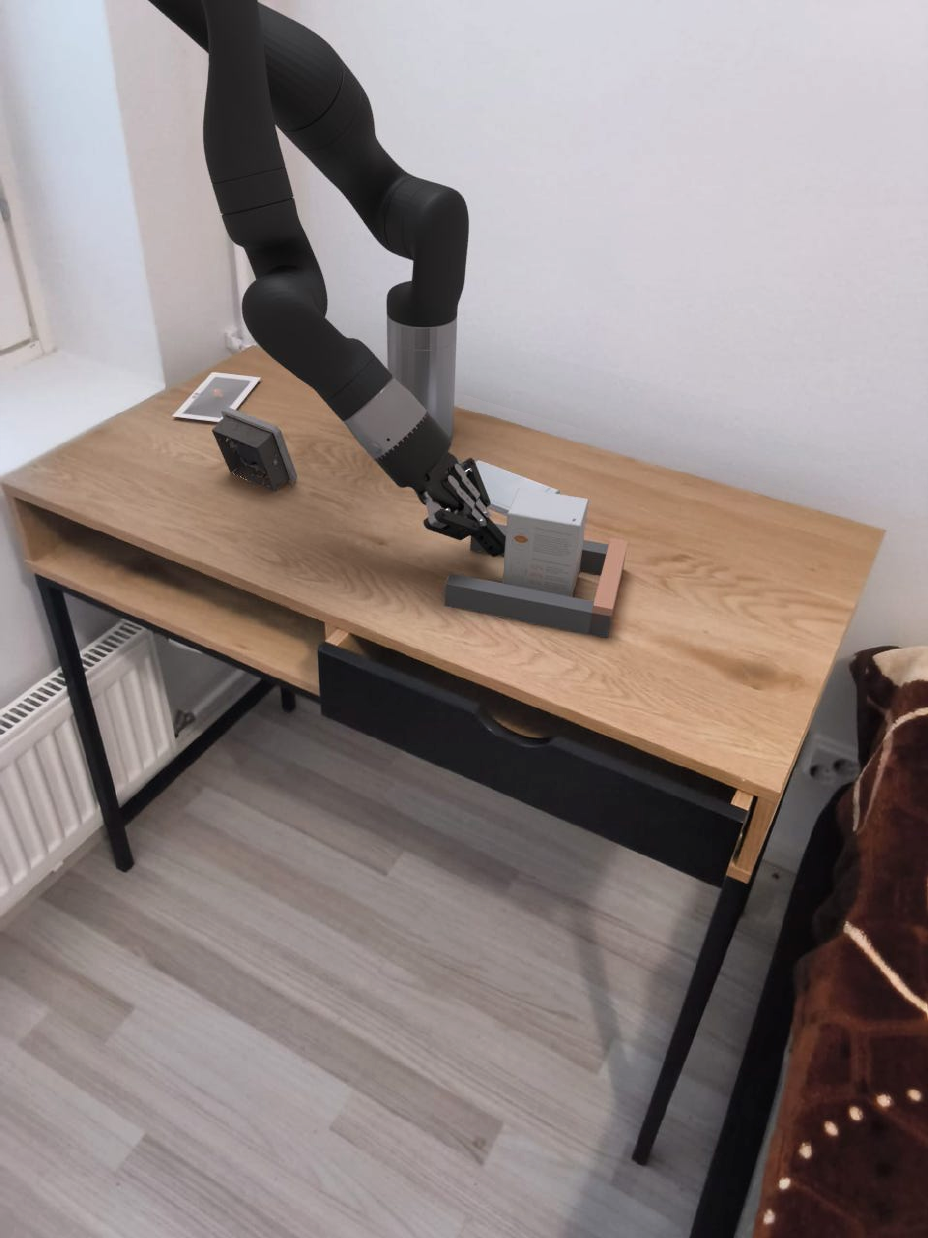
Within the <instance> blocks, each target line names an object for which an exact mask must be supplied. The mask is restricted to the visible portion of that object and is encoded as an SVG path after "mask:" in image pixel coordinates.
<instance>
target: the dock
mask: <svg viewBox="0 0 928 1238" xmlns="http://www.w3.org/2000/svg"><path fill="white" fill-rule="evenodd" d="M494 524H495V525H496V526H497V528H499V529H500V531H501V532H502V533H503V534H504V535H505V537H506V528H507V525H505V524H498V523H494ZM628 544H629V540H626V539H620V538H616V537H615V538H614V537H610V539H609V543H608V544H607V543H603V542H597V541H591V540H588V539H587V540H586V539H583V547H582V554H581V562H580V570H579V572H584V573H590V574H595V575H599V576H600V578H599V583H598V586H597V590H596V594H595V598H594V600H588V599H584V598H579V597H573V596H572V597H569V596H564V595H559V594H554V593H549V592H544V591H539V590H534V589H528V588H523V587H518V586H513V585H508V584H503V582H497V581H491V580H486V579H482V578H477V577H473V576H466V575H463V574H461V575H460V574H456V573H452V572H449V574H448V577H447V579H446V581H445V583H444V600H443V601H444V602H443V603H444V606H445V607H450V608H456V609H460V610H466V611H469V612H475V613H479V614H483V615H484V614H485V615H489V616H495V617H498V618H503V619H504V618H505V619H509V620H514V621H520V622H525V623H530V624H534V625H539V626H545V627H550V628H554V629H558V630H564V631H568V632H574V633H579V634H584V635H588V636H592V637H593V636H594V637H598V638H603V639H608V636H609V632H610V627H611V624H612V618H613V615H614V614H613V613H614V610H615V606H616V600H617V597H618V592H619V588H620V585H621V584H620V583H621V579H622V576H623V570H624V566H625V561H626V555H627V548H628ZM469 551H473V552H479V553H484V554H488V553H487V552H486V551H485V549H484V548H483V547H482V546H481V545H480V544H479V543H478V542H477V541H476V539H475V538H474V537H472V536H470V544H469ZM504 555H505V552H504V553H502V554H500V555H499V556H500V557H504ZM499 556H498V557H499Z"/></svg>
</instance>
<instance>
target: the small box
mask: <svg viewBox="0 0 928 1238" xmlns="http://www.w3.org/2000/svg"><path fill="white" fill-rule="evenodd" d="M588 509H589V499H588V498H583V497H577V496H572V495H567V494H560V493H559V494H555V493H549V492H543V491H537V490H531V489H525V488H519V489H518V491H517V494H516V496H515V498H514V500H513V502H512V505H511V507H510V509H509V511H508V514H507V515H506V526H507V528H506V542H505V555H504V556H503V558H504V559H503V572H502V574H503V575H502V583H503V584H508V585H513V586H518V587H523V588H528V589H534V590H539V591H544V592H549V593H554V594H559V595H564V596H569V597H573V596H574V591H575V589H576V585H577V582H578V579H579V576H580V571H579V570H580V562H581V554H582V547H583V540H585V530H586V523H587V522H586V521H587V516H588V515H587V514H588Z"/></svg>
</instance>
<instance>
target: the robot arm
mask: <svg viewBox="0 0 928 1238" xmlns="http://www.w3.org/2000/svg"><path fill="white" fill-rule="evenodd" d="M147 1H148V2H149V3H150V4H152V5H153V6H154V7H155V8H156V9H157V10H158V11H159V12H160V13H161V14H163V15H164V16H165V17H166V18H168V19H169V20H170V21H171V22H172V24H173V23H174V24H175V26H176V27H178V29H180V30H181V31H183V33H185V34H186V35H187V36H188V37H189V38H190V39H191V40H193V42H195V43H196V44H197V45H198V46H199V47H201V49H202V50H203V51H205V52H206V53H207V54H208V69H207V82H206V89H205V90H206V92H205V98H204V99H205V101H204V109H203V110H204V111H203V121H202V144H203V145H202V146H203V152H204V153H203V154H204V160H205V164H206V168H207V173H208V176H209V179H210V183H211V185H212V190H213V193H214V196H215V200H216V203H217V206H218V208H219V213H220V214H221V218H222V221H223V224H224V228H225V230H226V232H227V235H228V237H229V238H230V240H231V241H232V242H233V244H235V245H237V246H239V247H241V248H243V249H244V251H245V254H246V257H247V259H248V262H249V264H250V267H251V269H252V272H253V274H254V277H255V280H254V281H252V283H250V284H249V285H248V287H247V288H246V290H245V292H244V294H243V296H242V300H241V314H242V319H243V322H244V324H245V327H246V328H247V330H248V333H249V335H251V337H252V338H253V340H254V341H255V343H257V344H258V346H259V347H260V348H261V349H262V350H263V351H264V352H265V353H266V354H267V355H268V356H269V357H270V358H272V359H273V360H274V361H275V362H277V363H278V364H279V365H280V366H282V368H284V369H285V370H287V371H288V372H289V373H291V374H292V375H293V376H295V377H296V378H297V379H299V380H300V381H302V382H303V383H305V384H306V385H308V387H310V388H312V389H313V390H314V391H315V392H316V393H317V395H319V398H321V400H322V401H323V402H325V404H326V405H327V406H328V407H329V408H330V409H331V410H332V412H333V413H334V414H335V415H336V416H337V417H338V418H339V419H340V420H341V422H343V424H344V425H345V426H346V427H347V429H348V430H349V432H350V433H351V435H352V436H353V438H354V439H355V440H356V442H357V443H358V444H359V445H360V446H361V447H362V448H363V449H364V451H366V453H367V454H368V455H369V456H370V457H371V458H372V459H373V460H374V462H376V464H377V465H378V466H379V467H380V468H381V469H382V470H383V471H384V472H385V474H386V475H387V476H388V477H389V478H390V480H392V481H393V483H395V485H396V486H397V487H399V488H400V489H404V488H410V489H412V490H413V491H414V493H415V494H416V496H417V498H418V500H419V502H420V503H421V504H423V505H424V506H426V509H427V514H428V516H427V517H426V518H424V519H423V526H424V527H425V528H426V530H429V531H431V532H435V533H438V534H441V535H443V536H446V537H449V538H451V539H454V540H457V541H462V540H464V539H466V538H468V537H471V536H472V537H474V538H475V539H476V541H477V542H478V543H479V544H480V545H481V546H482V547H483V548H484V549H485V551H486V552H487V553H486V554H488V555H489V556H490V557H492V558H496V557H499V555H500V554H502V553H504V552H505V542H506V537H505V535H504V534H503V533H502V532H501V531H500V529H499V528H497V526H496V525H495V524H496V523H494V520H492V519H491V512H490V511H489V508H487V507H488V506H489V505H490V504H491V501H490V499H489V496H488V494H487V491H486V489H485V486H484V483H483V481H482V478H481V476H480V473H479V471H478V468H477V466H476V463H475V462H476V461H475V459H474V458H472V457H468V458H467V459H466V460H464V461H463V460H462V461H461V460H458V458H457V457H456V456H455V455H454V454H452V453H451V452H450V449H451V447H452V437H453V434H454V420H455V419H454V414H455V393H456V392H455V391H456V390H455V389H456V369H457V367H456V364H457V337H458V336H457V335H458V334H457V332H458V330H457V329H458V307H459V302H460V299H462V298H461V297H462V294H463V290H464V286H465V278H466V268H467V267H466V265H467V256H468V246H469V236H470V235H469V233H470V218H469V217H470V216H469V210H468V205H467V203H466V200H465V198H464V197H463V195H462V193H461V192H459V191H458V190H456V189H455V188H452V187H450V186H447V185H443V184H441V183H437V182H434V181H430V180H427V179H424V178H420V177H417V176H415V175H413V174H410V173H409V172H407V171H406V170H405V169H403V168H402V167H401V165H400V164H398V163H397V162H396V161H395V160H394V159H393V158H392V157H391V155H390V154H389V153H388V152H387V151H386V150H385V149H384V148H383V146H382V144H381V143H380V141H379V140H378V138H377V133H376V125H375V118H374V112H373V107H372V104H371V101H370V99H369V96H368V94H367V92H366V91H365V89H364V88H363V86H362V85H361V82H360V81H359V80H358V78H357V77H356V76H355V75H354V73H353V72H352V70H351V69H350V67H348V66H347V64H346V63H345V61H344V60H343V59H342V58H341V56H340V55H339V54H338V52H337V51H336V50H335V49H334V48H333V46H331V44H329V42H328V41H326V40H325V39H324V38H323V37H322V36H320V35H319V34H318V33H316V32H315V31H313V30H311V29H310V28H308V27H307V26H305V25H303V24H301V23H300V22H298V21H296V20H294V19H293V18H290V17H289V16H287V15H285V14H283V13H281V12H279V11H277V10H276V9H275V10H274V9H273V8H271V7H268V6H267V5H264V4H263V3H261V2H260V1H258V0H147ZM277 128H278V129H279V130H280V131H281V133H282V134H283V135H284V136H285V137H286V138H287V139H288V140H289V141H290V142H291V143H292V144H293V145H294V146H295V147H296V149H298V150H299V151H300V152H301V153H302V154H303V155H304V156H305V157H306V158H307V159H308V160H309V161H310V162H311V163H312V164H313V165H314V167H315V168H316V169H318V171H319V172H320V173H321V174H323V176H324V177H325V178H326V179H327V180H328V181H329V182H330V183H331V184H332V185H334V186H335V187H336V188H337V190H339V191H340V193H341V194H342V195H343V196H344V197H345V199H346V200H347V201H348V203H349V205H351V207H352V208H353V210H354V211H355V212H356V214H357V215H358V217H359V218H360V219H361V221H362V222H363V223H364V225H365V226H366V227H367V229H368V231H369V232H370V233H371V235H372V236H373V237H374V238H375V240H376V241H377V242H378V243H379V245H381V246H382V247H383V248H384V249H385V250H387V251H388V252H390V253H392V254H394V255H397V256H399V257H402V258H404V259H406V260H407V259H408V260H410V261H412V273H411V280H408V281H404V282H400V283H398V284H395V285H394V286H392V287H391V288H390V289H389V290H388V291H387V295H386V304H385V305H386V306H385V307H386V348H387V349H386V351H387V355H386V356H387V361H386V362H387V365H386V366H387V367H386V366H385V365H384V364H383V362H382V361H381V360H380V358H378V357H377V356H376V355H375V353H374V352H373V351H372V350H371V349H370V348H369V347H368V346H367V345H366V344H365V343H364V342H363V341H361V340H359V338H355V337H347V336H345V335H343V334H342V332H340V330H339V329H338V328H337V327H335V326H334V325H333V324H332V322H330V321H329V320H328V319H327V318H326V317H327V316H326V315H327V312H328V303H329V301H328V292H327V287H326V282H325V278H324V275H323V272H322V269H321V266H320V264H319V261H318V259H317V257H316V255H315V252H314V250H313V249H314V248H313V247H312V245H311V242H310V239H309V238H308V235H307V234H306V231H305V230H304V228H303V226H302V223H301V221H300V217H299V214H298V211H297V210H298V209H297V204H296V200H295V198H294V193H293V189H292V185H291V182H290V177H289V175H288V170H287V169H288V168H287V167H286V163H285V158H284V155H283V150H282V147H281V144H280V140H279V136H278V132H277Z"/></svg>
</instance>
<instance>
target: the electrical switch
mask: <svg viewBox="0 0 928 1238" xmlns="http://www.w3.org/2000/svg"><path fill="white" fill-rule="evenodd" d="M221 412H222V417H223V419H222V420H220V422H217V425H215V426H214V427H212V429H211V432H212V434H213V437H214V439H215V441H216V444H217V445H218V447H219V450H220V452H221V455H222V457H223V460H224V461H225V464H226V466H227V468H228V470H229V473H230V474H231V475H233V473H234V474H235V475H236V476H235V475H234V476H235V477H237V475H238V476H239V477H238V478H240V476H241V477H242V478H244V479H243V480H245V479H247V480H248V481H247V480H246V481H247V482H249V481H251V482H250V483H252V484H254V485H257V486H259V487H261V488H264V489H266V490H269V491H272V492H274V493H276V492H277V491H278V490H279V489H280V488H281V487H282V486H284V485H285V484H286V482H288V483H289V482H290V483H289V484H292V483H293V484H294V483H295V482H296V481H297V480H298V478H299V477H298V475H297V471H296V469H295V466H294V464H293V460H292V457H291V454H290V451H289V449H288V446H287V443H286V440H285V438H284V435H283V432H282V430H281V429H280V428H279V426H278V425H276V424H273V423H270V422H268V421H266V420H262V419H260V418H257V417H255V416H252V415H249V414H247V413H244V412H242V411H240V410H237V409H236V410H234V409H232V408H229V407H226V408H224V409H223V410H221ZM260 472H262V473H263V474H262V475H261V476H259V473H260ZM242 478H241V479H242Z"/></svg>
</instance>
